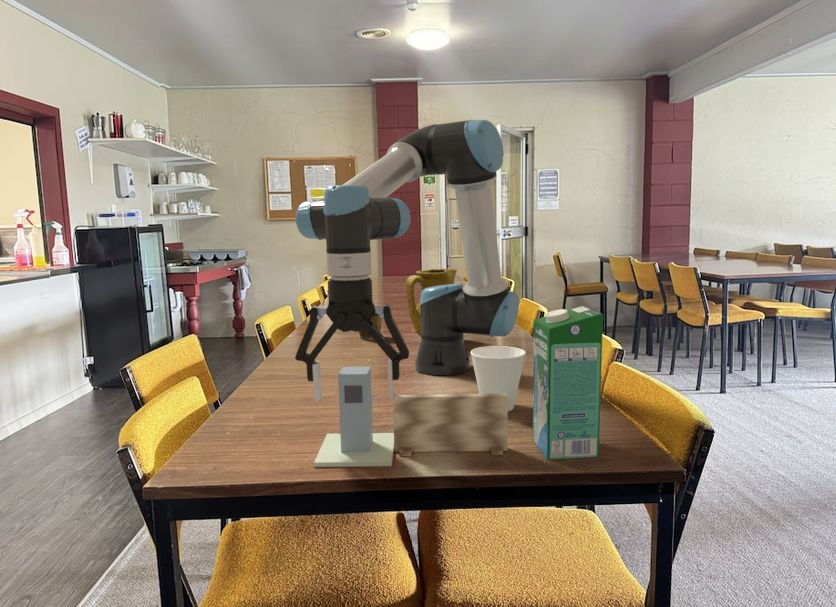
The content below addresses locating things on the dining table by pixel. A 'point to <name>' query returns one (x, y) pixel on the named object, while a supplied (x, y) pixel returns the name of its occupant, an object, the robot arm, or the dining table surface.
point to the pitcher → (426, 280)
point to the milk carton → (567, 383)
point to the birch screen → (450, 423)
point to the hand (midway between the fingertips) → (354, 398)
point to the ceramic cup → (376, 321)
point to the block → (355, 409)
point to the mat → (376, 457)
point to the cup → (498, 370)
